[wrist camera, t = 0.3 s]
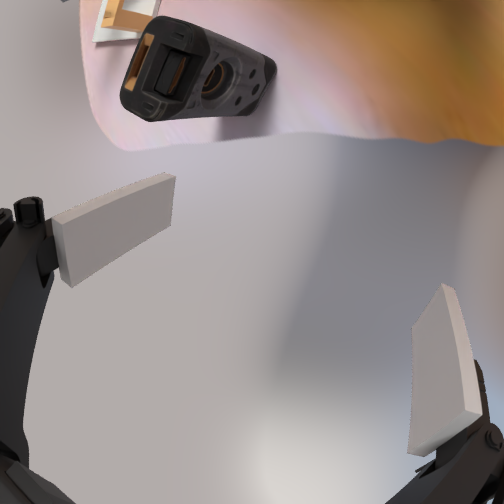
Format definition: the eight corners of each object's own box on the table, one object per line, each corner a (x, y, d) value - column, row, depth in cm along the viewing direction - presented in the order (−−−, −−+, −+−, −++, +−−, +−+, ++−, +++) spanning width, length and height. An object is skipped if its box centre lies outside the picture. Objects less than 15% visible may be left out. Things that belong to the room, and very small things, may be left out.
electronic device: (250, 120, 38) (154, 128, 22) (217, 101, 39) (112, 104, 22) (282, 63, 33) (200, 25, 16) (246, 47, 33) (148, 11, 17)
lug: (145, 1, 33) (110, -8, 26) (158, -1, 32) (122, -12, 25) (136, 32, 36) (100, 27, 29) (149, 32, 35) (112, 25, 29)
